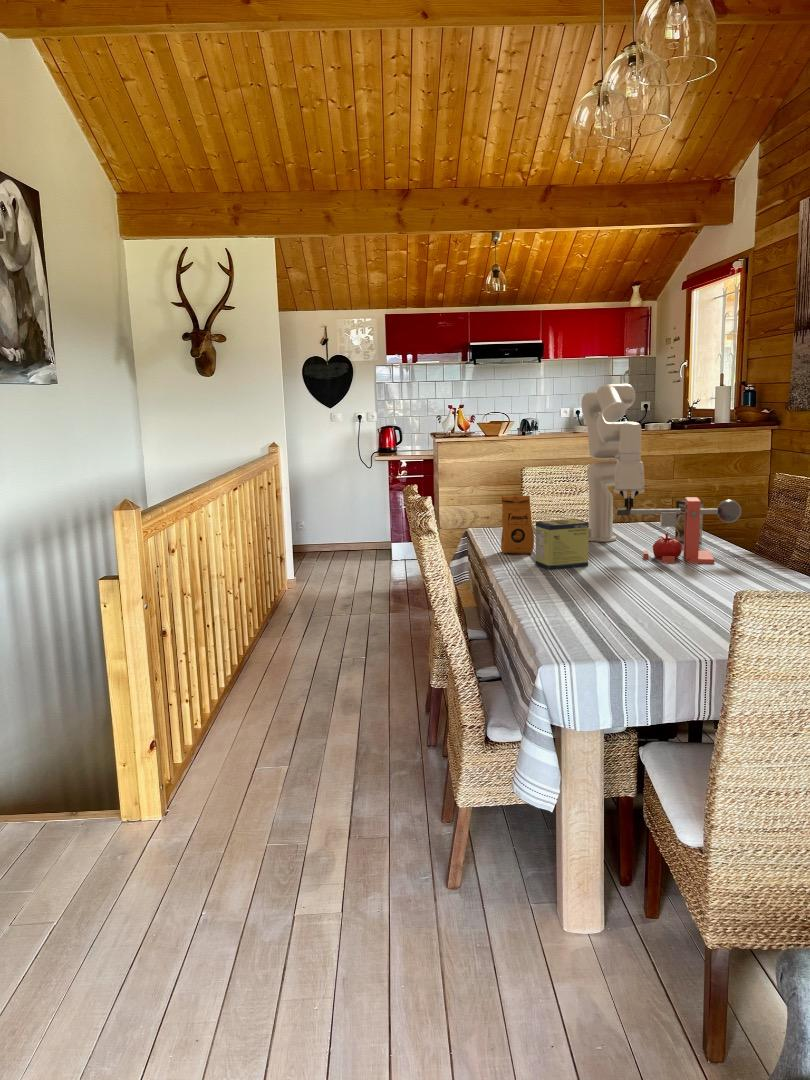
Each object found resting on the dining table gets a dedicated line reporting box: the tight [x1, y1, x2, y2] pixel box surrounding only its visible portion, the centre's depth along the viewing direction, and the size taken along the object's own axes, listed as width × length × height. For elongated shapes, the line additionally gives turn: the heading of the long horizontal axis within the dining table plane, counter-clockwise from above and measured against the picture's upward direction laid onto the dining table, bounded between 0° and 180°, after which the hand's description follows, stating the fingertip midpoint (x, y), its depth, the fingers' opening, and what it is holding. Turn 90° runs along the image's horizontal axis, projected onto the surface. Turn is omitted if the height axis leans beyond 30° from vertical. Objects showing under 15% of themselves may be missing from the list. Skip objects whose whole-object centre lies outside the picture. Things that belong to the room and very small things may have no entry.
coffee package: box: [500, 495, 535, 555], centre depth 298 cm, size 10×12×22 cm
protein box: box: [535, 518, 589, 571], centre depth 274 cm, size 10×16×16 cm
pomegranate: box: [652, 532, 683, 560], centre depth 281 cm, size 10×10×9 cm
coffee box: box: [674, 499, 704, 543], centre depth 312 cm, size 9×6×16 cm
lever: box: [616, 499, 742, 528], centre depth 278 cm, size 42×8×9 cm, turn 75°
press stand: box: [643, 496, 715, 565], centre depth 279 cm, size 23×16×21 cm
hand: (628, 509), depth 282 cm, fingers closed
